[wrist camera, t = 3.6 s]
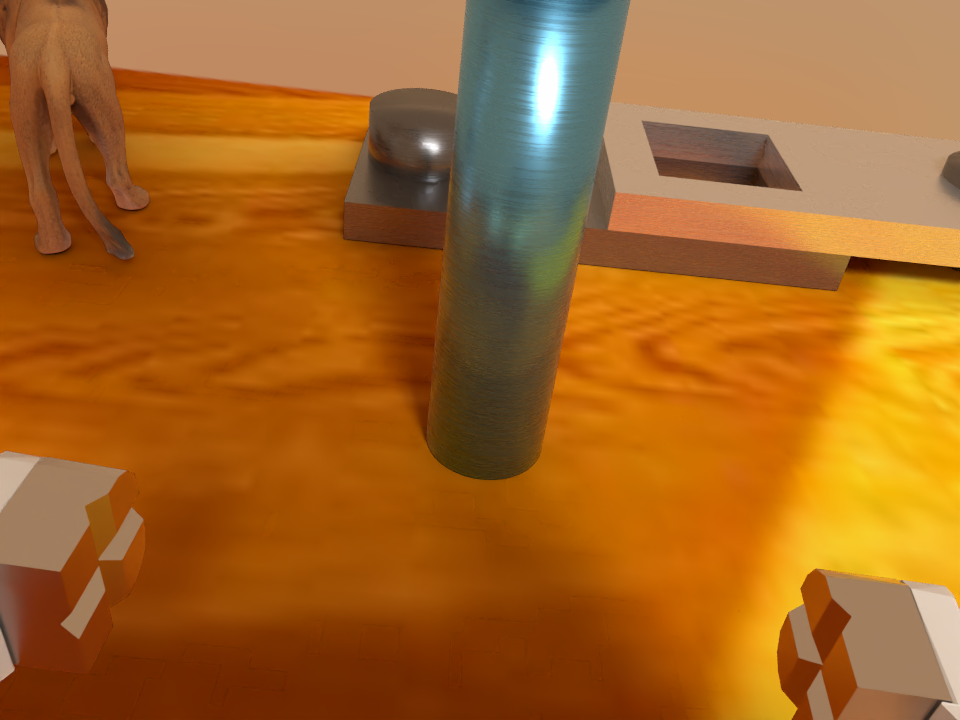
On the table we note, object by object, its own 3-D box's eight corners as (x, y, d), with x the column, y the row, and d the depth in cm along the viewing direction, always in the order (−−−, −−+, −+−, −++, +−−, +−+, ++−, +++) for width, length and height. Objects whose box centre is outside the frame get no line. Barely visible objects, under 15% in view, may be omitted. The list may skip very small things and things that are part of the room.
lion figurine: (-32, 118, 37) (-92, -121, 32) (99, 104, 40) (64, -120, 34) (51, 290, 28) (-14, -7, 23) (215, 257, 30) (192, -17, 25)
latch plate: (343, 238, 32) (345, 148, 30) (373, 141, 40) (376, 63, 37) (1081, 316, 33) (1131, 235, 31) (979, 208, 41) (1014, 136, 39)
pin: (370, 443, 24) (396, -152, 15) (466, 369, 27) (530, -160, 18) (505, 522, 22) (616, -102, 14) (591, 434, 25) (725, -120, 17)
